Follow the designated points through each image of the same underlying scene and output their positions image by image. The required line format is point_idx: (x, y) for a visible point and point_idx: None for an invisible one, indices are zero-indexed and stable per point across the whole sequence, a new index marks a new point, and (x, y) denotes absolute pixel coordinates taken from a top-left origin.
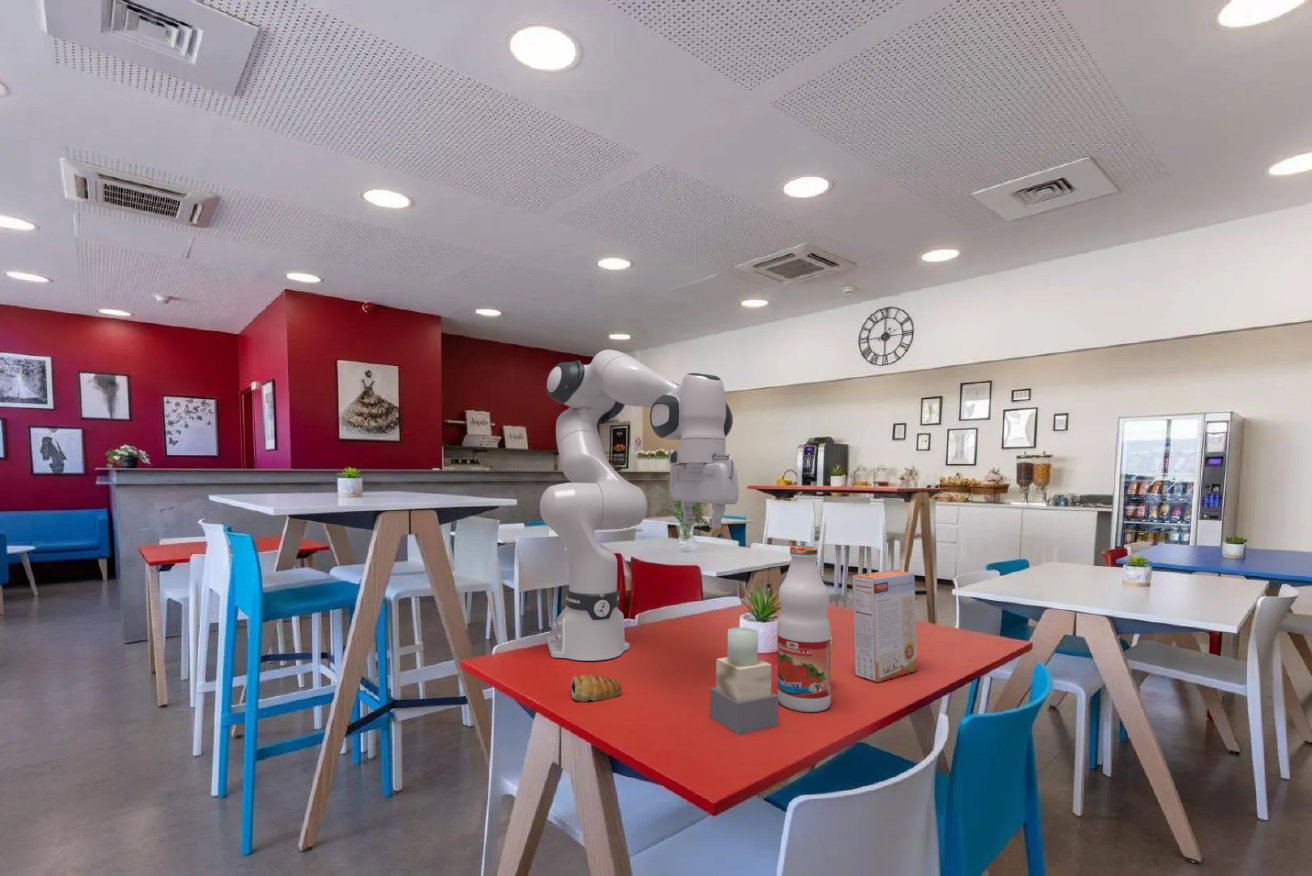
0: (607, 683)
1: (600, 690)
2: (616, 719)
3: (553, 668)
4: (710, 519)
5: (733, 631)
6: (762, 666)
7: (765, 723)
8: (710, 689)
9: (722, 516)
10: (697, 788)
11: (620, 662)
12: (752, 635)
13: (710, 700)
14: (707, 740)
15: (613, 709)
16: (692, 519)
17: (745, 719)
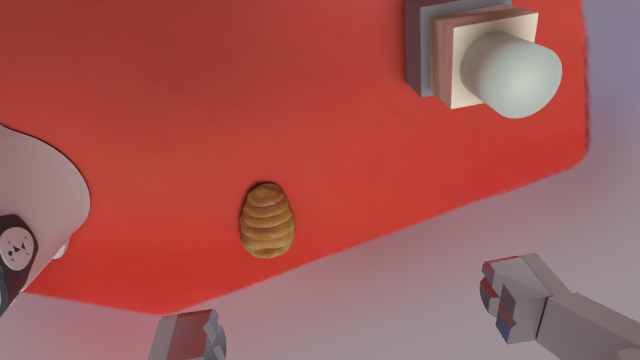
0: (280, 213)
1: (291, 220)
2: (363, 204)
3: (127, 254)
4: (520, 337)
5: (516, 106)
6: (534, 37)
7: None
8: (420, 96)
9: (599, 304)
10: (557, 166)
11: (92, 149)
12: (560, 74)
13: (414, 90)
14: (472, 117)
15: (329, 202)
16: (213, 348)
17: None
